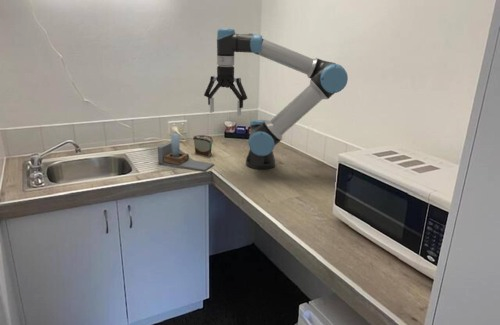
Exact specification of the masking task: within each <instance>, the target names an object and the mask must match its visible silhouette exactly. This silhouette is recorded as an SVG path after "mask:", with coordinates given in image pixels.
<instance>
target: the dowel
mask: <svg viewBox="0 0 500 325" xmlns="http://www.w3.org/2000/svg"><path fill="white" fill-rule="evenodd" d="M170 138H171V139H170V140H171V141H170V142H171V149H172V157H180V153H181V152H180V147H181V146H180V133H175V132H174V133H171V134H170Z"/></svg>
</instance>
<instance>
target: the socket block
mask: <svg viewBox="0 0 500 325" xmlns="http://www.w3.org/2000/svg"><path fill="white" fill-rule="evenodd" d="M189 155H190V154H189V153H185V152H184V153H183V152H180V157H172V153H170V154H168V155H166V156H164V162H166V163H172V164H178V165H180V164H182V163H184V162H185V161H187V160H190V158H189V157H190V156H189Z"/></svg>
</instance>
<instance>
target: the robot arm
mask: <svg viewBox="0 0 500 325" xmlns="http://www.w3.org/2000/svg"><path fill="white" fill-rule="evenodd" d="M216 34H217V37H216V58H217V59H216V60H217V61H216V65H217V66H216V75H217V76H215V75H211V76H210V78H209V83H208V85H207V87H206V89H205V92H204V94H203V95H204V97H206V98H207V104H208V106H209V113H210V114H211V113H213V112H214V113H215V98H214V95H215V94H217V91H218V90H219V89H220V88H229V89H230V90H232V92H233V94H234V95H235V96H236V98H237V103H236V104H237V107H236V109H237V110H236V116H238V117H239V116H241V115H242V109H243V108H244V101H246V100H247V99H248V95H247V93H246V91H245V89H244V86H243V84H242V78H241V77H237V78H235V67H234V66H235V53H251V54H254V55H257V56H261V57H263V58H265V59H267V60H269V61H272V62H275V63H277V64H280V65H282V66H285V67H287V68H290V69H292V70H295V71H297V72H298V73H299V72H300V73H302V74H305V75H306V76H307V78H309V80H310V81H309V84H308V85H307V87H305V89H303V90H302V91H301V92H300V93H299V94H298V95H297V96H296V97H295V98H294V99H292V100H291V101H290V102H289V103H288V104H287V105H285V107H284V108H283V109H282V110H280V111H279V112H278V113H276V115H274V116H273V118H271V119H270V120H269V119H268V120H266V119H254V120H251V121H250V125H249V127H250V128H249V137H248V140H247V142H248V147H249V150H248V154H247V156H246V159H245V165H246V166H247V167H249V168H251V169H254V170H268V169H272V168H274V167H276V159H275V155H274V151H273V150H274V149H275V147H276V145H278V144H279V143H280V142H281V141H282V140H283V135H284V134H285V133H286V132H287V131H288V130H289V129H291V128H292V127H293V126H295V125H296V123H298V121H300V120H301V119H302V118H303V117H305V115H307V114H308V113H309V112H310V111H311V110H312V109H314V108H315V107H316V106H317V105H318V104H319V103H320V102H321V101H323V100H329V99H330V98H331V97H332V96H333V95H334V94H337V93H339V92H341V91H342V90H344V89H345V88H346V86H347V84H348V81H349V80H348V79H349V78H348V72H347V70H346V69H345V68H344V66H342V65H341V64H338V63H336V62H332V61H327V60H323V59H320V58H318V57H315V58H311V57H309V56H307V55H304V54H301V53H299V52H297V51H295V50H292V49H289V48H287V47H285V46H282V45H279V44H277V43H275V42H273V41H269V40H267V39H265V38H263V35H262V34H256V33H254V34H253V33H243V34H242V33H236V32H235V29H234V28H219V29H217V33H216ZM215 82H217V84H216V85H215V87H214V88H213V86H214V84H215ZM234 83H235V84H236V85H235V84H234ZM236 86H237V87H236Z"/></svg>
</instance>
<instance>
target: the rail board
mask: <svg viewBox="0 0 500 325" xmlns="http://www.w3.org/2000/svg"><path fill="white" fill-rule="evenodd" d="M170 153H172V149H171V141H168V142H165V143H163V144H161V145H159V146H158V147H157V157H158V165H162V166H166V167H167V166H169V167H174V168H179V169H187V170H190V171H191V170H192V171H197V172H203V173H205V172H207V171H208V170H209V169H211V168H212V167H214V166H215V164H214V163H212V162H205V161H201V160H200V161H199V160H192V159H189V160H187V161H185V162H184V163H182V164H180V165H178V164H172V163H166V162H164V156H166V155H168V154H170Z"/></svg>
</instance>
